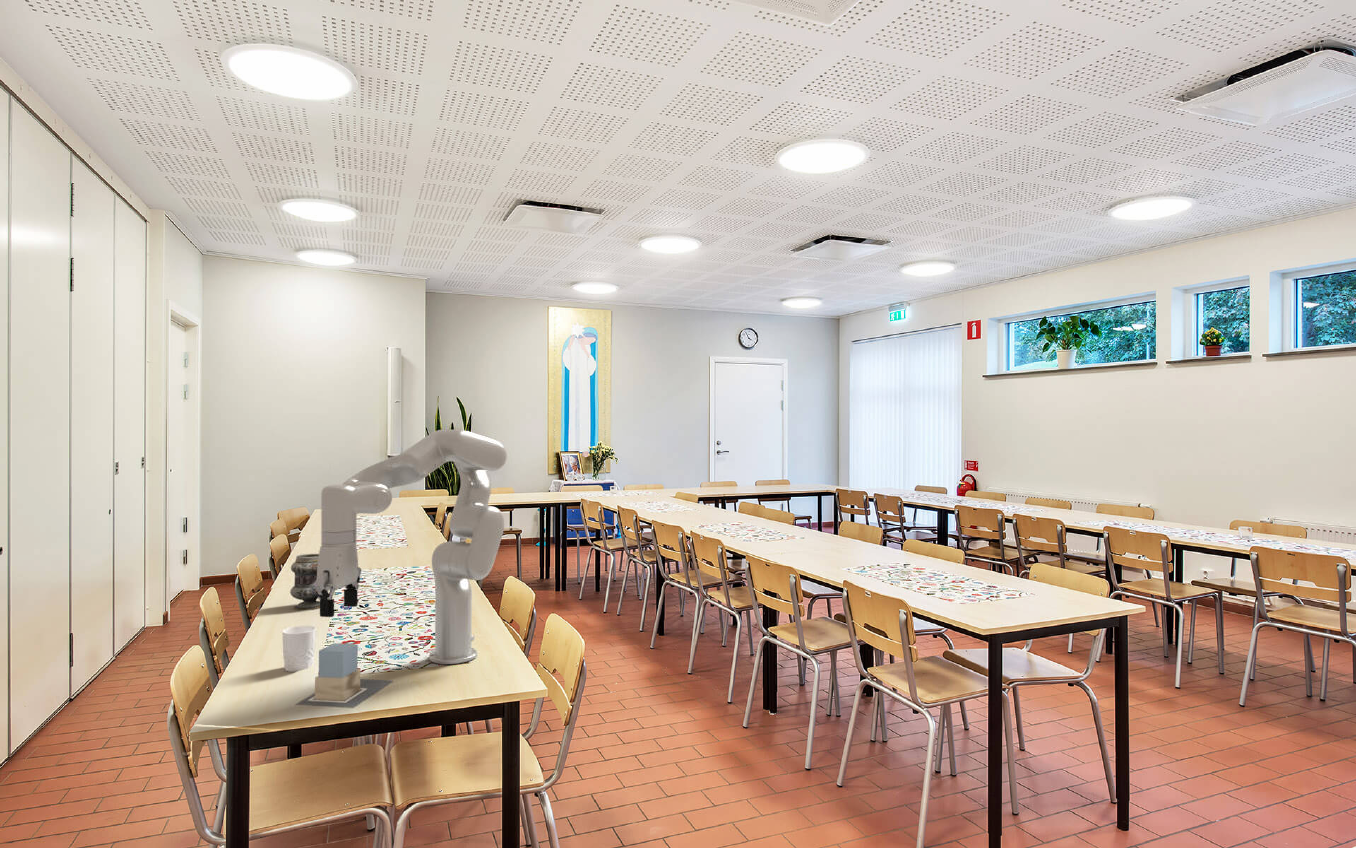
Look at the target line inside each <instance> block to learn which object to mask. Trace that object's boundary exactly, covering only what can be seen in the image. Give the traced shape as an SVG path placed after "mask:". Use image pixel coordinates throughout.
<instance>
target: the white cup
mask: <svg viewBox="0 0 1356 848" xmlns="http://www.w3.org/2000/svg"><path fill="white" fill-rule="evenodd" d="M281 632H282V651H283V655H282V657H283V663H284V664H283V665H284V667H283V668H284V671H286V672H290V673H291V672H292V673H293V672H298V671H303V670H306V669H309V668H311V667H313V666H314V665H315V664H314V663H315V662H314V661H315V653H316V640H317V639H316V637H317V636H316V635H317V627H315V626H313V625H298V626H296V625H295V626H292V627H288V628H285V629H283V630H282V631H281Z"/></svg>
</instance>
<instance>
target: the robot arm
mask: <svg viewBox="0 0 1356 848" xmlns="http://www.w3.org/2000/svg"><path fill="white" fill-rule="evenodd" d="M507 454H508V453H507V451H506V448H505V447H504V445H503V444H502V442H500V441H498V440H496V439H493V438H490V437H487V436H483V435H481V434H478V433H475V432H472V431H468V430H464V429H438V430H435V431H432V432H431V433H429V434H428V435H426V436H425V437H423V438H422V439H420V440H419V441H417V442H416V443H414V444H413V445H412V446H410V447H408V448H407V449H406V450H404V451H402V452H400V453H399V454H397V455H395V456H391V457H389V458H386V459H384V460H383V461H380V462H377V463H375V464H372V465H370V466H368V467H365V468H363V469H362V470H360V471H359V472H357V473H356V474H354V475H352V476H351V477H349V478H348V479H347V480H345V481H344V482H343V483H342V484H332V485H331V484H330V485H326V486H324V487H323V488H322V489H321V495H320V499H321V505H320V506H321V507H320V508H321V509H320V511H321V513H320V515H321V517H320V518H321V521H320V522H321V525H320V527H321V528H320V529H321V530H320V532H321V533H320V534H321V535H320V536H321V539H320V540H321V542H320V543H321V546H320V548H319V551H318V554H319V557H318V567H317V581H316V582H315V588H316V591H317V592H316V593H317V595H318V598H317V600H318V601H320V608H319V616H320V617H321V618H333V617H335V599H334V596H335V593H336V590H338V589H341V588H345V589H343V606H344V607H351V608H353V607H357V606H358V603H359V602H358V598H359V597H358V592H359V591H358V590H359V588H360V587H359V586H360V585H359V583H360V581H361V573H362V568H361V567H359V557H358V549H357V548H358V547H357V536H358V535H357V527H358V526H357V525H358V524H357V521H358V520H357V515H358V514H367V515H371V514H373V515H374V514H380V513H383V512H384V511H386V510H387V509H388V508H389V507H390V505H392V501H393V495H392V491H391V489H393V488H397V487H402V486H408V485H412V484H414V483H415V484H416V483H418V482H420V481H422V480H423V479H425V478H426V477H428V476H429V475H430V474H431V473H433V472H434V471H436V470H437V469H438V468H440V467H441V466H443V465H444V464H446V463H448V462H453V463H454V466H455V468H456V469H457V472H458V474H459V478H460V487H459V491H458V494H457V498H456V500H455V504H454V507H453V510H452V513H451V516H450V519H449V525H448V526H449V527H448V528H449V530H450V533H451V534H452V535H453V536H456V538H457V537H458V538H463V539H469V540H471V541H470V543H469V542H464V541H454V540H452V541H451V540H450V541H445V542H442V543H440V544H439V545H437V546H436V548H435V549H434V550H433V553H432V556H431V568H432V572H433V577H434V584H435V585H434V586H435V588H434V589H435V590H434V591H435V601H434V604H435V606H434V610H435V611H434V612H435V613H434V614H435V615H434V616H435V618H434V619H435V620H434V625H435V626H434V628H435V630H434V650H433V651H432V652H430V653H429V655H428V660H429V661H430V662H432V663H433V664H438V665H439V664H441V665H455V664H461V663H467V662H469V661H472V660H474V659H476V657H477V656H478V651H477V649H475V648H473V647H472V642H473V641H474V640H475V636H474V634H472V618H473V617H472V615H473V614H472V610H473V609H472V608H473V607H472V605H473V603H472V601H473V600H472V599H473V597H472V596H473V594H472V593H473V592H472V587H471V586H472V585H471V583H470V580H471V581H480V580H482V579H483V580H484V579H485V578H486V577H487V576H488V575H489V574H490V573H491V571H492V568H493V566H494V563H495V561H496V557H497V555H498V551H499V548H500V545H501V542H502V537H503V534H504V530H505V519H504V515H503V513H502V511H501V510H500V509H499V508H498V507H496V506H492V505H489V501H490V496H491V493H492V484H491V480H490V477H489V475H488V473H487V472H496V471H498V470H500V469H502V468H503V466H504V465H505V464H506V461H507V457H508V456H507ZM326 590H329V591H328V592H327V591H326Z"/></svg>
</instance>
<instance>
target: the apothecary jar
mask: <svg viewBox="0 0 1356 848" xmlns="http://www.w3.org/2000/svg"><path fill="white" fill-rule="evenodd" d="M318 557H319V553H304V554H303V553H302V554H299V555H296V558H295V561H294V562H293V563H292V564H291V565H290V570H291V571H292V572H293V574H294V584H293V586H292V587H291V589H290V591H289V592H290V595H291V596H292V598H294V599H296V600H301V601H302V602H299V603H297V604H295V605H294V607H293V609H294V610H297V609H300V610H299V611H307V609H310V610H315V609H320V600H318V595H317V593H316V592H317V591H316V588H315V582H316V581H317V567H318ZM326 591H327V592H328V593H329V591H330V590H326Z"/></svg>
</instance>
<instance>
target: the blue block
mask: <svg viewBox="0 0 1356 848" xmlns="http://www.w3.org/2000/svg"><path fill="white" fill-rule="evenodd" d="M358 646H359V645H358V644H356V643H335V642H334V643H332V644H330V645H327V646H325V647H324V648H322V649H320V650H318V676H319V677H332V678H344V677H346V676H347V675H349V674H351V673H353V672H354V671H356V670H357V669H358V664H359V663H358V658H359V657H358Z"/></svg>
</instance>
